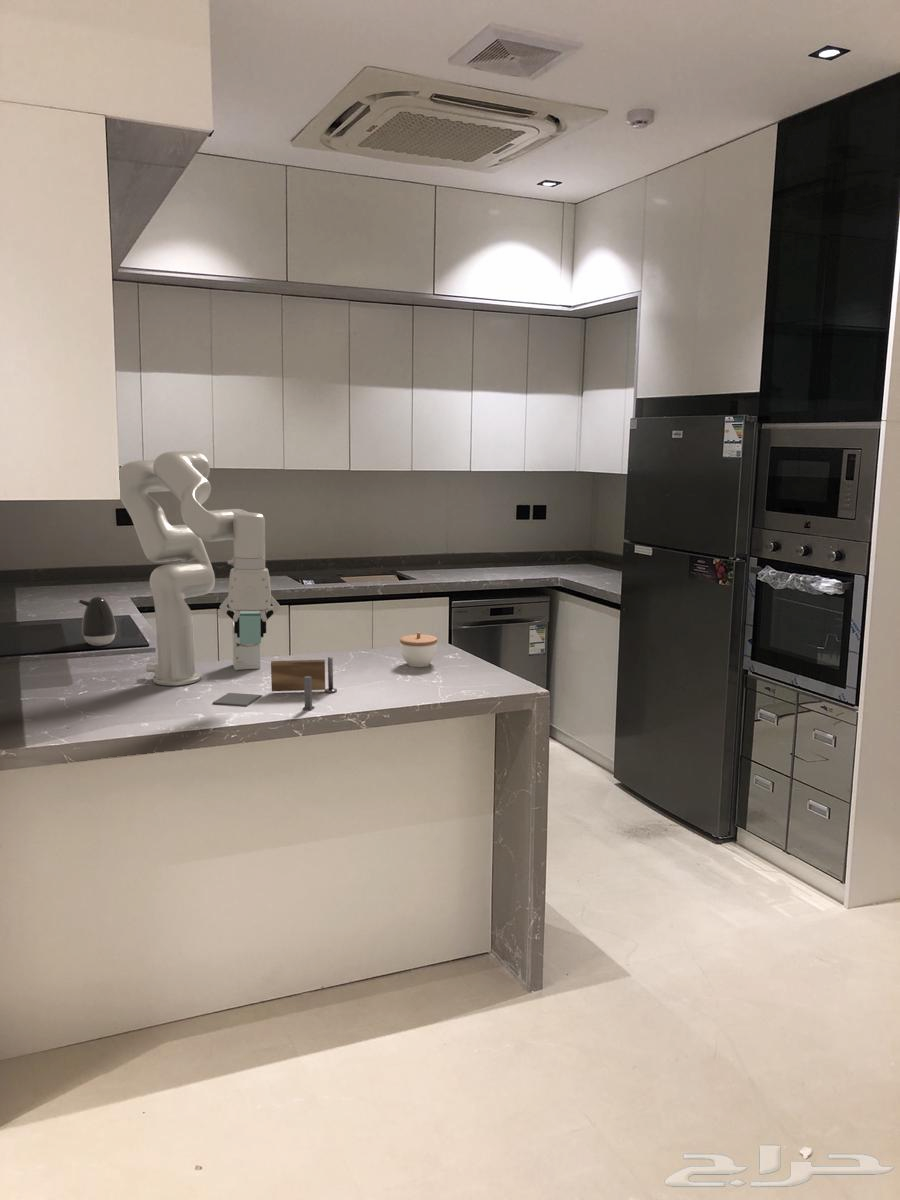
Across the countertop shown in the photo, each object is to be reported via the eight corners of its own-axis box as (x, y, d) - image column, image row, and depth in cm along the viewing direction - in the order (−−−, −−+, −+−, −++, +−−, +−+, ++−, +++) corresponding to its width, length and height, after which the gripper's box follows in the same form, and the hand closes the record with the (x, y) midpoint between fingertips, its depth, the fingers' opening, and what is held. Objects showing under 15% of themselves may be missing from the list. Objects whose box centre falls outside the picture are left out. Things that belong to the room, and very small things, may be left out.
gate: (272, 689, 246) (271, 661, 245) (325, 687, 248) (324, 659, 247) (271, 691, 244) (270, 663, 243) (325, 689, 246) (324, 661, 245)
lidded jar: (395, 667, 272) (395, 635, 270) (406, 659, 282) (405, 628, 280) (431, 670, 269) (431, 637, 268) (441, 661, 280) (441, 629, 278)
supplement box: (234, 670, 268) (232, 626, 266) (233, 664, 275) (231, 621, 273) (261, 669, 270) (259, 625, 268) (259, 663, 277) (257, 620, 275)
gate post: (322, 692, 246) (322, 658, 244) (327, 689, 249) (326, 655, 248) (334, 693, 245) (333, 659, 244) (338, 690, 248) (338, 656, 247)
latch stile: (302, 709, 231) (301, 677, 230) (305, 707, 233) (305, 675, 232) (311, 710, 231) (310, 678, 229) (314, 707, 233) (313, 676, 231)
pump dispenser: (83, 641, 303) (79, 594, 300) (117, 639, 306) (114, 593, 304) (81, 648, 294) (77, 600, 291) (116, 646, 297) (113, 598, 294)
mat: (212, 703, 236) (212, 702, 236) (228, 694, 244) (228, 692, 244) (246, 706, 234) (246, 704, 234) (261, 696, 242) (261, 694, 242)
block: (239, 643, 233) (239, 616, 232) (241, 639, 238) (240, 611, 237) (260, 643, 234) (260, 615, 233) (261, 638, 239) (261, 611, 238)
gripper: (212, 566, 227) (213, 640, 231) (284, 566, 230) (285, 639, 234) (215, 561, 235) (216, 632, 238) (285, 561, 237) (285, 632, 241)
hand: (250, 635), depth 236 cm, fingers closed on block, 5 cm apart
